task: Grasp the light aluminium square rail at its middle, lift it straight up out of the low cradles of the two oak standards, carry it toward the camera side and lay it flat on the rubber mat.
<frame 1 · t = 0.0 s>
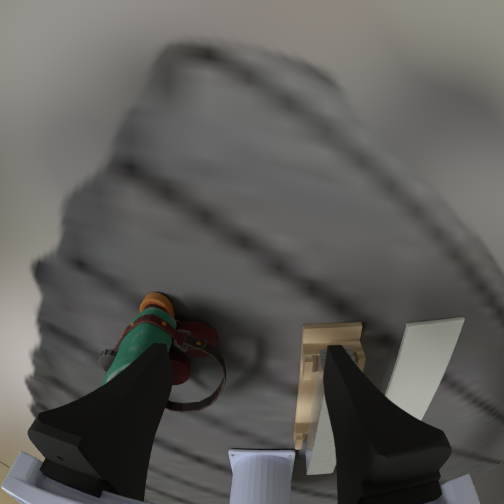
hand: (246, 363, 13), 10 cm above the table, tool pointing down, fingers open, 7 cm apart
rail: (325, 405, 25), point 2 cm above the table, touching rack
rack: (322, 390, 27), on the table
binoculars: (178, 339, 26), on the table
mat: (416, 379, 26), on the table
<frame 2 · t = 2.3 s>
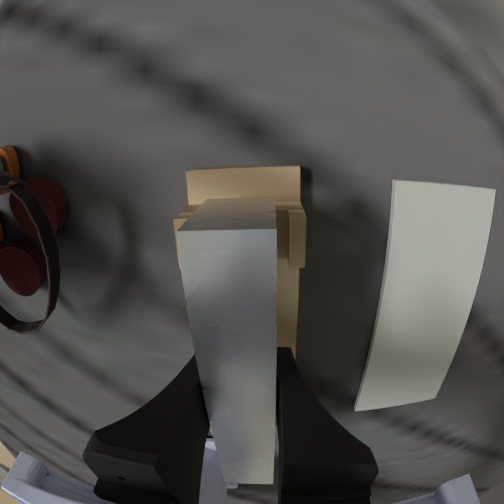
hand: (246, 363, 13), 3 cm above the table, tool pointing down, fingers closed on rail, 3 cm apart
rail: (247, 346, 14), point 2 cm above the table, touching gripper, rack
rack: (250, 323, 16), on the table
binoculars: (31, 222, 15), on the table
mat: (425, 315, 15), on the table
when the fingers open (3 cm above the table, at t = 6.4 s): rail drops 1 cm, resting on mat.
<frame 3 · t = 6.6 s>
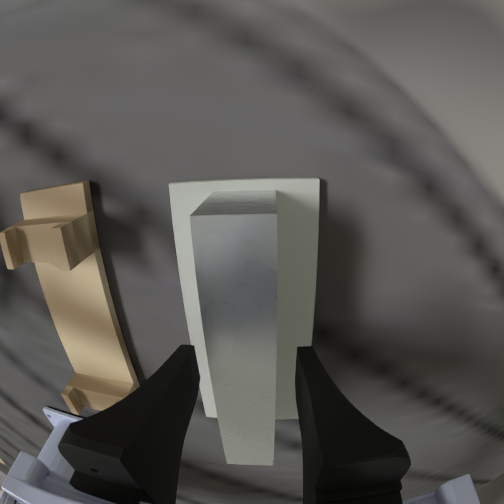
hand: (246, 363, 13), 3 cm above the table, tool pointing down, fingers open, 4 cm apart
rail: (249, 330, 15), resting on mat
rack: (85, 317, 16), on the table
mat: (250, 326, 16), on the table
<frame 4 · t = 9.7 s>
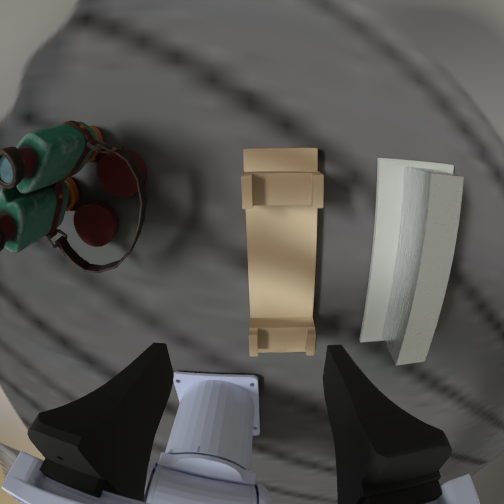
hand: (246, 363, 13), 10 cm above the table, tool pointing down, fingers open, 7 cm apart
rail: (410, 259, 21), resting on mat
rack: (281, 260, 22), on the table
binoculars: (107, 187, 21), on the table
mat: (408, 257, 22), on the table
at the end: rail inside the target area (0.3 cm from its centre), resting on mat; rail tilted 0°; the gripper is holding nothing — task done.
